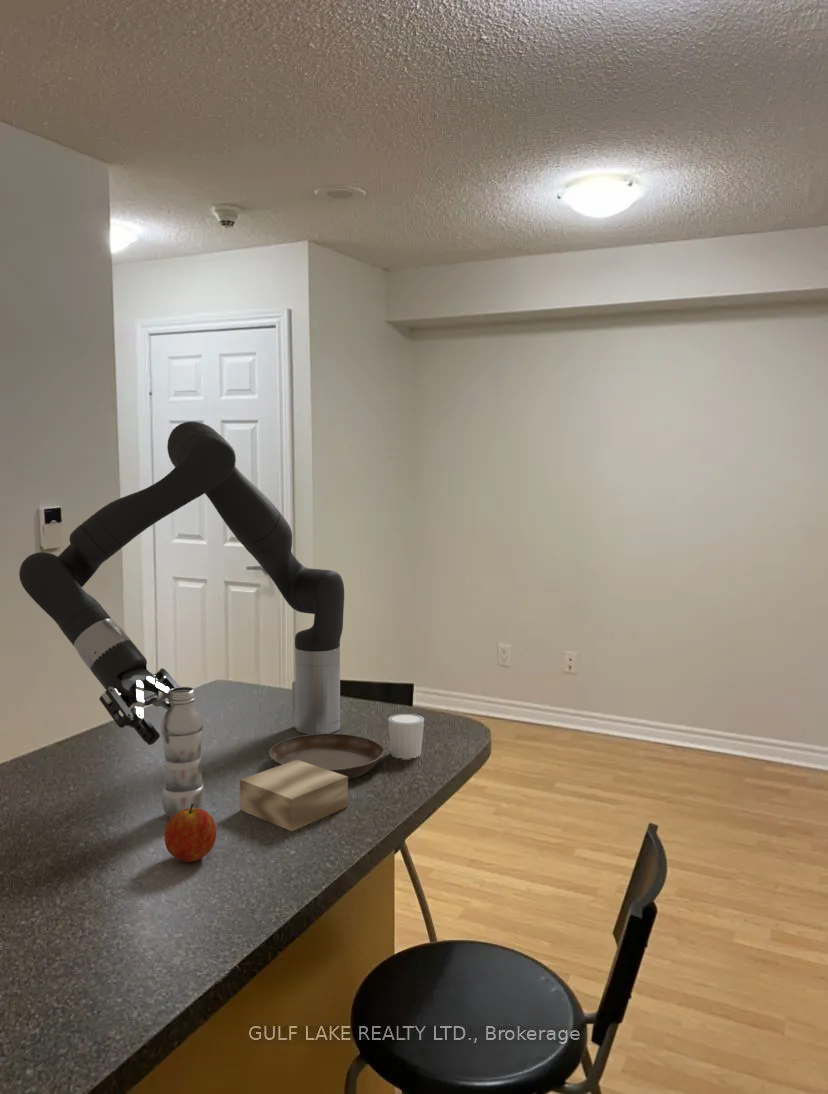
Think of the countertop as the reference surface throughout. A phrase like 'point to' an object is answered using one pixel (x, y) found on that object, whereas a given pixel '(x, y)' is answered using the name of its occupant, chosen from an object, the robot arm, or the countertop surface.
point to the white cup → (406, 735)
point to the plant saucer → (330, 752)
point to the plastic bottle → (182, 753)
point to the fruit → (190, 834)
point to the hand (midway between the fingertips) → (172, 732)
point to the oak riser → (293, 794)
